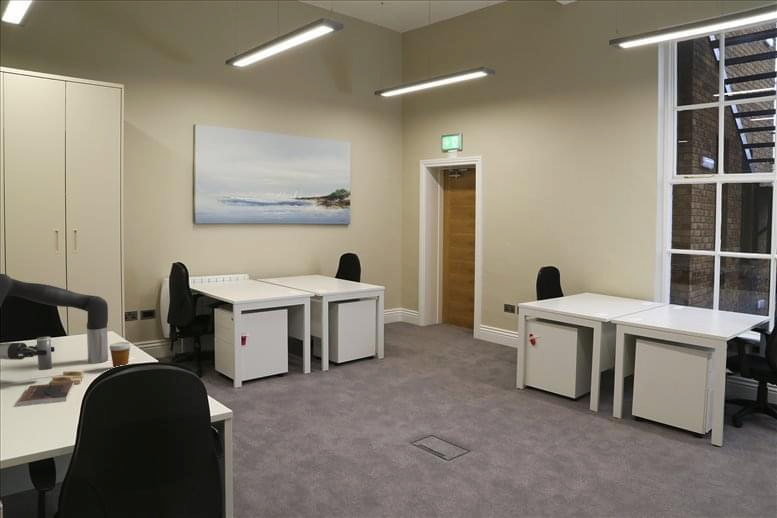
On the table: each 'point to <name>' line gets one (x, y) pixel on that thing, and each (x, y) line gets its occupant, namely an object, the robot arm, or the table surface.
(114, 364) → the disposable coffee cup
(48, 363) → the domed lid canister
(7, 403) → the table surface
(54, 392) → the picture frame
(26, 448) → the table surface
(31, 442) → the table surface
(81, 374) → the stand
